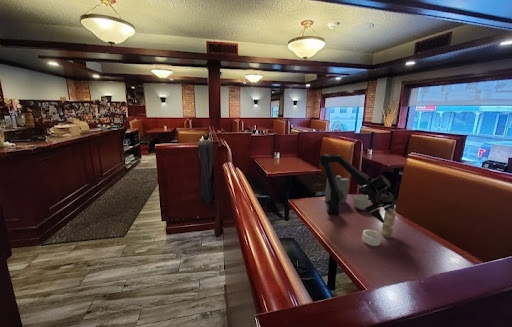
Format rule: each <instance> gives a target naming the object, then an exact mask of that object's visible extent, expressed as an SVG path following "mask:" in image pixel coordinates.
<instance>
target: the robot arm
mask: <svg viewBox="0 0 512 327" xmlns="http://www.w3.org/2000/svg"><path fill="white" fill-rule="evenodd" d="M318 161H319V163H320V165H321V166H322V167H323V169H324V171H325V174H326V180H327V179H328V182H329V186H330V189H331V193H330V200H329V201H327V203H326V205H327V209H326V212H327V214H328V215H331V216H332V215H333V216H339V213H340V205H339V204H341V203H340V202H341V201H343V199H344V195H343V191H340V190H339V189H338V186H337V182H336V179H335V178H336V176H335V173H334V169H333V165H334V164H333V163H338V165H339V166H341V167H342V168H343V169H344V170H345V171H347V172H348V173H349V174H350V175H351V177H352V178H353V180H354V181H355V183H356V184H357V185H358V186H360V190H359V191H360V192H363V191H364V192H365V194H366V195H368V197H369V198H368V200H370V201H371V205H370V206H368V207H366V208H365V210H364V211H365V213H366V214H368V215H371V216H372V217H374V218H375V219H376V220H378V222H380V223H382V224H383V223H384V217H383V216H382V214H381V212H380V211H381V209H380V208H383V210H384V211H385V210H388V209H389V208H392V209H394V207H395V204H396V201H395V200H394V198H395V196H394V194H392V192H387V193H386V194H384V195H383V194H382V193H381V192H380V193H379V191H383V190H385V189H387V188H388V187H390V186H391V183H390V180H388V178H386V177H385V176H384V175H382V174H381V175H379V177H377V178H373V177H371V176H369V175H368V174H367V173H365V172H363V171H361V170H359V169H357V168H356V167H355V166H354V165H353V164H351V162H349V161H348V160H347V159H346V158H345V157H344V156H343V155H341V154H330V153H325V154H322V155H321V156H320V158H319V160H318Z"/></svg>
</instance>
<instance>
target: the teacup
mask: <svg viewBox="0 0 512 327" xmlns="http://www.w3.org/2000/svg"><path fill="white" fill-rule="evenodd" d="M368 198H369V197H368V195H367V194H366V195H365V194H356V195H354V196H353V205H354V207H355V208H356V209H358V210H361V211H365V208H366V207H368V206H370V205H372V202H371V201H370V200H368Z"/></svg>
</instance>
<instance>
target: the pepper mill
mask: <svg viewBox="0 0 512 327" xmlns="http://www.w3.org/2000/svg"><path fill="white" fill-rule="evenodd" d="M396 216H397V212H396V211H395V209H394V208H393V209H392V208H389V209H388V210H384V215H383V220H384V223H382V226H381V231H380V232H381V233H380V234H381V236H382V237H384V238H387V239H392V238H393V232H394V228H395V227H394V226H395V221H396Z"/></svg>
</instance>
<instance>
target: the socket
mask: <svg viewBox="0 0 512 327" xmlns="http://www.w3.org/2000/svg"><path fill="white" fill-rule="evenodd" d="M382 237H383V236H382V235H381V233H380V232H379V231H376V230H373V229H364V230H363V231H362V235H361V241H362V242H363V243H365V244H366V245H369V246H374V247H377V246H378V247H379V246H380V245H381V242H382Z"/></svg>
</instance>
